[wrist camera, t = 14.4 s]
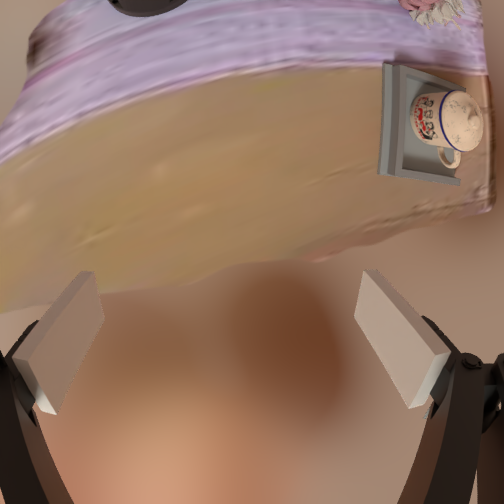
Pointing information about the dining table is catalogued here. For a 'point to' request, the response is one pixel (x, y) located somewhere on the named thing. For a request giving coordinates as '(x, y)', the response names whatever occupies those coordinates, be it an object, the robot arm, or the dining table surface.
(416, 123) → the teacup with lid
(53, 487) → the robot arm
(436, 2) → the flower
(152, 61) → the dining table surface
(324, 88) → the dining table surface
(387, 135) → the grey shallow square tray
